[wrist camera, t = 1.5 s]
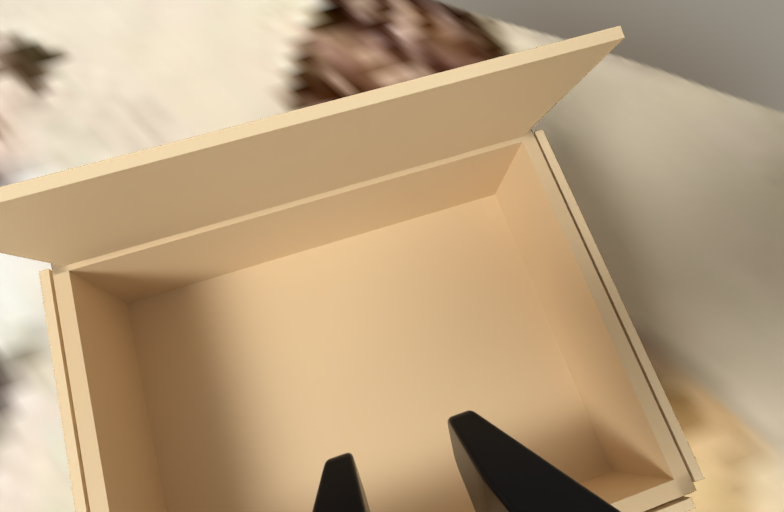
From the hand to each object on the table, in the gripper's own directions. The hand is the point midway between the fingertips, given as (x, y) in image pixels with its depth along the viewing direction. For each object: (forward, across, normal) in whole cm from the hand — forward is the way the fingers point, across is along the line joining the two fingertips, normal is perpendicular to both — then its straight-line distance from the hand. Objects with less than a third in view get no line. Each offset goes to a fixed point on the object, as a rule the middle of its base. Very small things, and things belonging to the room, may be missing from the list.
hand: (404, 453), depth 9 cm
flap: (+12, 0, 0) cm, 12 cm away
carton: (+11, 0, +8) cm, 14 cm away
